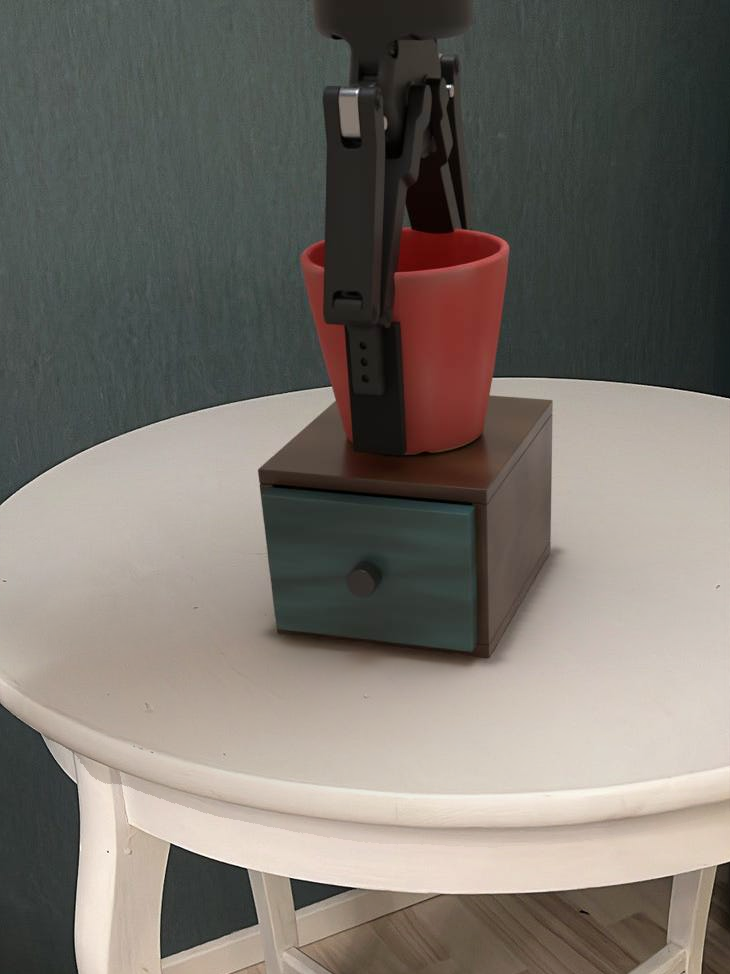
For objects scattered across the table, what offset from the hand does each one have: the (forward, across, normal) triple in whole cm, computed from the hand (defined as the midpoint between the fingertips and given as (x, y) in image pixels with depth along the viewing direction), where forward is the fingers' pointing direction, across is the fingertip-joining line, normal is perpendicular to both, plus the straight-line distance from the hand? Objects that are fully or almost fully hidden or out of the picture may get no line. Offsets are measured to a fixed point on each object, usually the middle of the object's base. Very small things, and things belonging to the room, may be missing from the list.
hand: (412, 417), depth 75 cm
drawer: (+9, -2, 0) cm, 10 cm away
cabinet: (+10, 0, 0) cm, 10 cm away
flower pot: (+1, 0, 0) cm, 1 cm away
